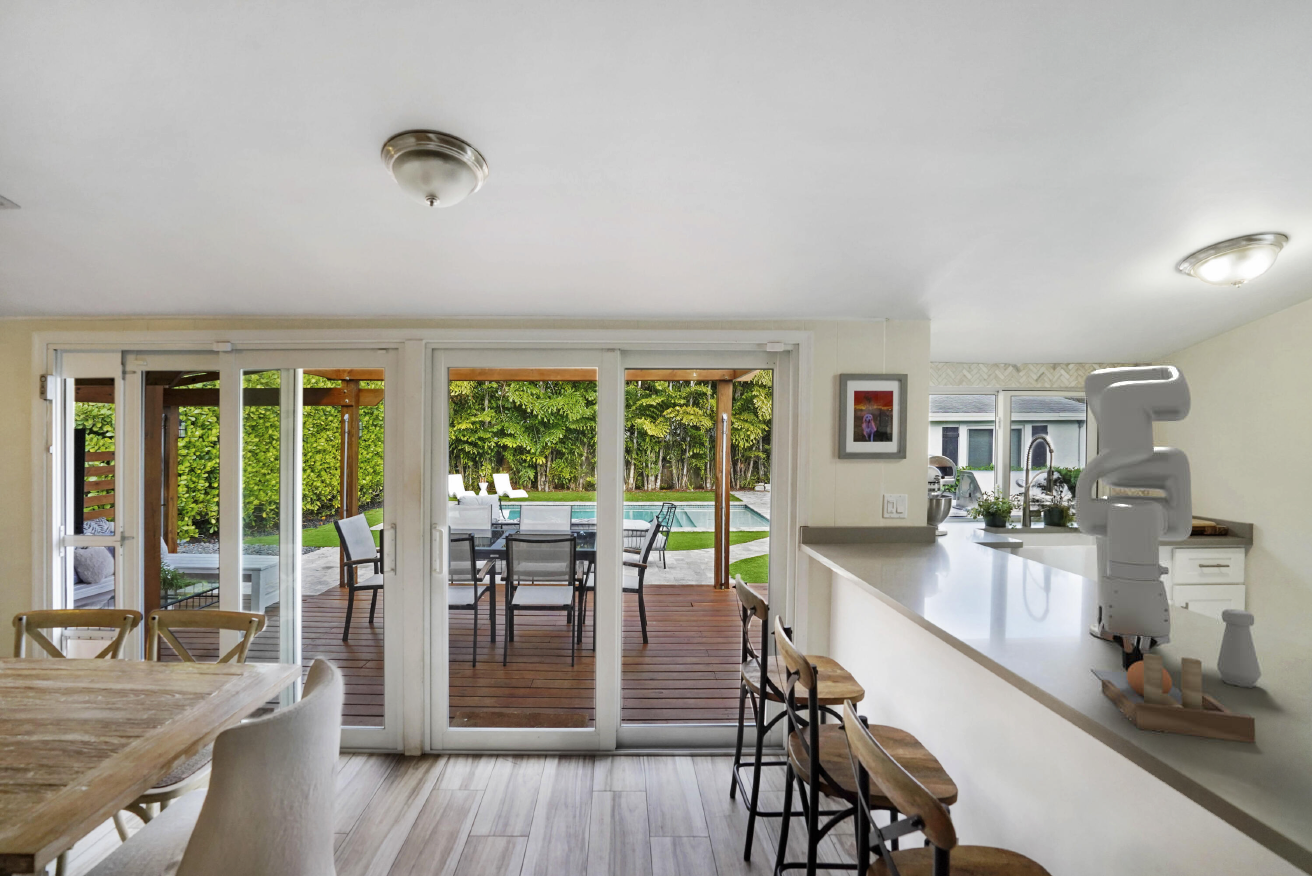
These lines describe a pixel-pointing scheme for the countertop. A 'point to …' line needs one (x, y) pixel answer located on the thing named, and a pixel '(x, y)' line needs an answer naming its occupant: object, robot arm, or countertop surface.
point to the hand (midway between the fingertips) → (1133, 672)
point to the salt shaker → (1238, 650)
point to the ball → (1137, 678)
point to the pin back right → (1153, 679)
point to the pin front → (1170, 701)
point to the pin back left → (1191, 683)
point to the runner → (1123, 685)
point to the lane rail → (1185, 717)
